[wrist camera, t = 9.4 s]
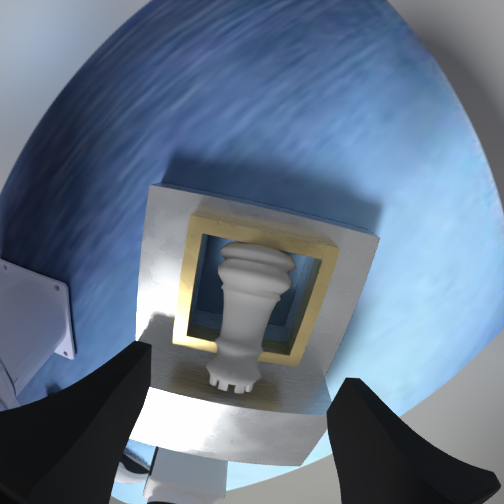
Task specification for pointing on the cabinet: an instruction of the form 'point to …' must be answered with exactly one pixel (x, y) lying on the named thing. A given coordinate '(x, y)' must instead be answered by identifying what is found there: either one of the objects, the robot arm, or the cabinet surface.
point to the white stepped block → (209, 327)
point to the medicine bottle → (185, 478)
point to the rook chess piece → (246, 310)
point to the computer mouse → (130, 470)
